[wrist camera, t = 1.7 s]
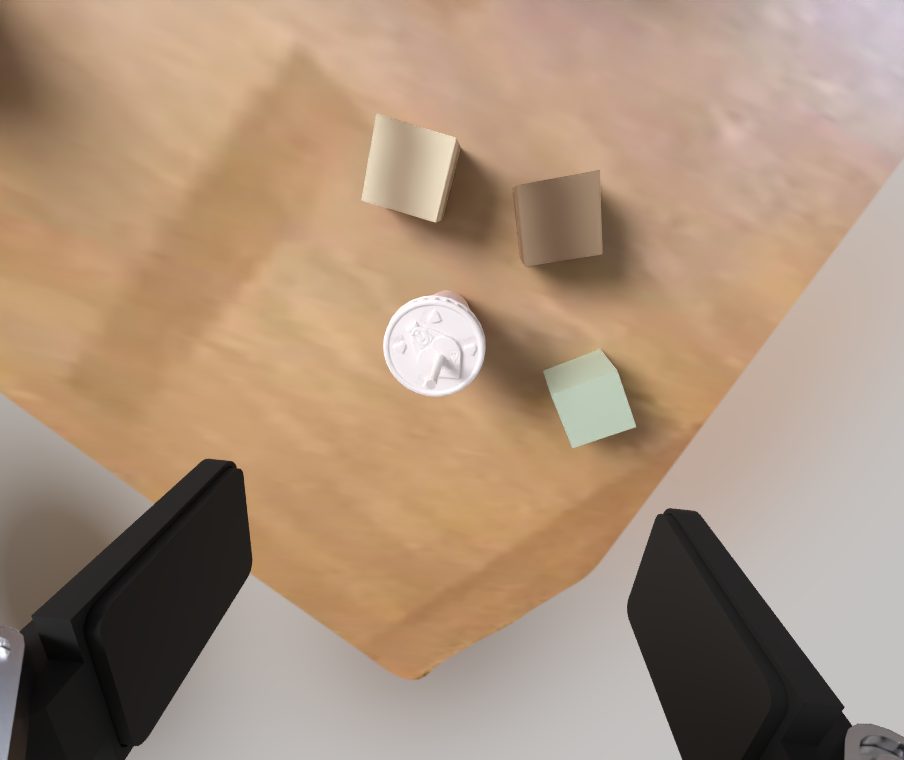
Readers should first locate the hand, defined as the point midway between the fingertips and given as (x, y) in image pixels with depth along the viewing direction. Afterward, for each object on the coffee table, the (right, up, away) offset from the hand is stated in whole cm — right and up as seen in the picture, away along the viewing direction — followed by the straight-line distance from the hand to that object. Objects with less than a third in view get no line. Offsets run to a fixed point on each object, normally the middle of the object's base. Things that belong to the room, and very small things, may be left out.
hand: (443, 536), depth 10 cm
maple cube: (-2, +19, +22) cm, 29 cm away
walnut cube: (+8, +16, +22) cm, 28 cm away
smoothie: (0, +9, +25) cm, 27 cm away
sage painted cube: (+11, +3, +27) cm, 29 cm away
